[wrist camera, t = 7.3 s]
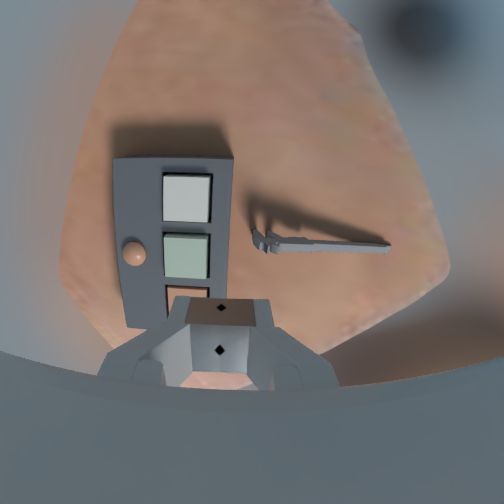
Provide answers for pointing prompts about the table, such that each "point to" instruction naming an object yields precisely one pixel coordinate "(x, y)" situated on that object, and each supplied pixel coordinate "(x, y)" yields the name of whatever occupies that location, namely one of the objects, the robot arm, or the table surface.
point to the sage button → (186, 254)
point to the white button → (186, 197)
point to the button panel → (165, 231)
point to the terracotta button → (185, 292)
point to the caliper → (311, 244)
